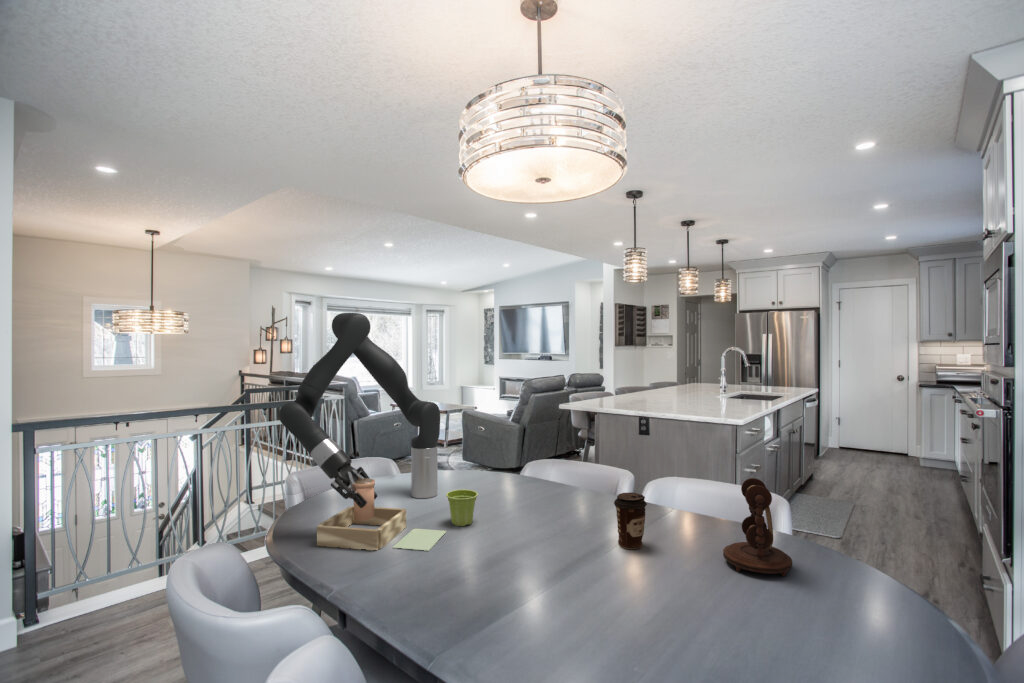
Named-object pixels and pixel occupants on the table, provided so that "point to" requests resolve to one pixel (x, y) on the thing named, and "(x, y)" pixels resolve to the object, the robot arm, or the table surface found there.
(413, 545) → the green mat
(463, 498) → the plant pot
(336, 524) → the frame
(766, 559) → the brown wooden stand
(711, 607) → the table surface
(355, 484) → the seedling pot
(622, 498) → the coffee cup
